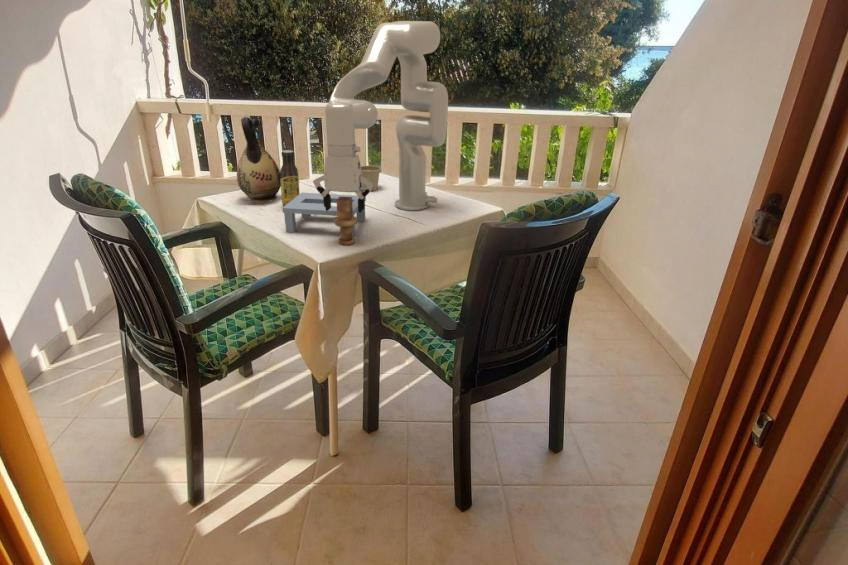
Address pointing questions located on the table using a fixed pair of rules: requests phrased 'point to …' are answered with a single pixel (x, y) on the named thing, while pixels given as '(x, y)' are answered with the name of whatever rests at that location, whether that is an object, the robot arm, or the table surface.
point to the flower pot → (371, 176)
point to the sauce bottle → (289, 178)
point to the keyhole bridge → (316, 208)
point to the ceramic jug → (257, 167)
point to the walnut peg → (345, 220)
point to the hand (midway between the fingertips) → (344, 210)
